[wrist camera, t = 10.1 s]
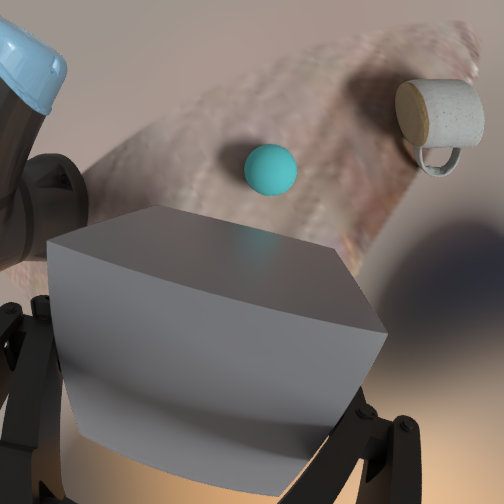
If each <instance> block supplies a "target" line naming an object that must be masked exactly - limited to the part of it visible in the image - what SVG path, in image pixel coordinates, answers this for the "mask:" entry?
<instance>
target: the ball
mask: <svg viewBox="0 0 504 504" xmlns="http://www.w3.org/2000/svg"><path fill="white" fill-rule="evenodd" d="M244 173H245V178H246V180H247V182H248V184H249V185H250V187H251V188H252V189H253V190H255V191H256V192H258V193H260V194H262V195H266V196H276V195H280V194H282V193H284V192H286V191H287V190H288V189H289V188H290V187H291V186H292V185H293V183H294V181H295V179H296V175H297V166H296V162H295V160H294V158H293V156H292V155H291V153H290V152H289V151H287V150H286V149H285V148H283V147H281V146H278V145H273V144H267V145H262V146H260V147H258V148H256V149H255V150H253V151H252V152H251V153H250V155H249V156H248V158H247V160H246V162H245V167H244Z"/></svg>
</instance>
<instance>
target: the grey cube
mask: <svg viewBox="0 0 504 504" xmlns="http://www.w3.org/2000/svg"><path fill="white" fill-rule="evenodd" d="M47 271H48V286H49V298H50V307H51V316H52V323H53V330H54V336H55V342H56V347H57V352H58V357H59V362H60V367H61V371H62V375H63V379H64V383H65V387H66V391H67V394H68V398H69V401H70V405H71V408H72V411H73V414H74V417H75V421H76V423H77V426H78V429H79V432H80V434H81V435H82V436H84V437H86V438H88V439H90V440H92V441H94V442H96V443H98V444H100V445H101V446H103V447H106V448H108V449H110V450H112V451H114V452H116V453H118V454H120V455H123V456H125V457H127V458H130V459H132V460H134V461H137V462H139V463H142V464H144V465H147V466H150V467H153V468H155V469H158V470H161V471H164V472H167V473H169V474H173V475H176V476H179V477H182V478H186V479H189V480H192V481H196V482H200V483H204V484H208V485H212V486H216V487H220V488H225V489H230V490H236V491H240V492H246V493H252V494H259V495H267V496H275V497H279V496H280V495H281V494H282V493H283V491H284V490H285V489H286V488H287V487H288V486H289V485H290V484H291V482H292V481H293V480H294V479H295V478H296V477H297V475H298V474H299V473H300V471H302V469H303V468H304V467H305V466H306V464H307V463H308V462H309V461H310V459H311V458H312V457H313V455H314V454H315V453H316V451H317V450H318V449H319V448H320V446H321V445H322V443H323V442H324V440H325V439H326V438H327V437H328V435H329V434H330V432H331V431H332V429H333V428H334V427H335V425H336V424H337V422H338V421H339V419H340V418H341V416H342V415H343V413H344V412H345V410H346V408H347V407H348V405H349V404H350V402H351V401H352V399H353V397H354V396H355V394H356V392H357V391H358V389H359V387H360V386H361V384H362V382H363V380H364V378H365V377H366V375H367V373H368V372H369V370H370V368H371V366H372V364H373V362H374V361H375V359H376V357H377V355H378V353H379V351H380V349H381V347H382V345H383V343H384V341H385V339H386V337H387V335H388V333H387V331H386V330H385V328H384V326H383V325H382V323H381V321H380V320H379V318H378V316H377V315H376V313H375V311H374V310H373V308H372V306H371V305H370V303H369V302H368V300H367V298H366V297H365V295H364V294H363V292H362V291H361V289H360V287H359V286H358V284H357V283H356V281H355V280H354V278H353V276H352V275H351V273H350V272H349V270H348V269H347V267H346V266H345V264H344V263H343V261H342V260H341V258H340V257H339V255H338V254H337V252H336V251H335V249H333V248H329V247H325V246H321V245H318V244H314V243H310V242H306V241H302V240H299V239H295V238H291V237H287V236H283V235H279V234H275V233H271V232H268V231H264V230H260V229H256V228H252V227H248V226H244V225H240V224H235V223H231V222H227V221H223V220H219V219H215V218H211V217H207V216H202V215H198V214H194V213H190V212H185V211H181V210H177V209H173V208H168V207H164V206H159V205H155V206H151V207H148V208H144V209H141V210H137V211H134V212H131V213H127V214H124V215H121V216H117V217H114V218H111V219H108V220H105V221H102V222H98V223H95V224H92V225H89V226H86V227H83V228H80V229H77V230H75V231H72V232H69V233H66V234H63V235H60V236H58V237H55V238H52V239H49V240H47Z"/></svg>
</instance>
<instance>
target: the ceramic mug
mask: <svg viewBox="0 0 504 504" xmlns="http://www.w3.org/2000/svg"><path fill="white" fill-rule="evenodd" d="M395 109H396V115H397V119H398V123H399V126H400V128H401V131H402V133H403V135H404V136H405V137H406V139H407V140H408V141H409V142H410V143H411V144H413V145H414V154H415V159H416V161H417V164H418V165H419V167H420V168H421V169H422V170H423V171H425V172H426V173H427V174H429V175H431V176H434V177H442V176H446V175H448V174H449V173H451V172H452V171H453V170H454V168H455V167H456V165H457V163H458V161H459V159H460V156H461V151H462V148H470V147H474V146H476V145H477V143H478V142H479V141H480V139H481V138H482V135H483V131H484V113H483V108H482V104H481V101H480V99H479V97H478V95H477V93H476V91H475V90H474V89H473V88H472V87H471V86H470V85H469V84H468V83H466V82H465V81H462V80H457V79H456V80H452V79H415V80H410V81H406V82H403V83H402V84H401V85H400V86H399V87H398V89H397V92H396V96H395ZM423 147H424V148H438V147H452V148H453V151H452V155H451V157H450V159H449V161H448V162H447V163H446V165H444V166H442V167H430V166H425V165H424V163H423V160H422V148H423Z"/></svg>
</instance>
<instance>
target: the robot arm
mask: <svg viewBox="0 0 504 504" xmlns="http://www.w3.org/2000/svg"><path fill="white" fill-rule="evenodd" d="M66 74H67V64H66V61H65V59H64V58H63V56H62V55H60V54H59V53H58V52H57V51H56V50H54V49H53V48H52V47H50V46H49V45H47V44H46V43H44V42H43V41H42V40H40V39H39V38H37V37H36V36H34V35H33V34H31V33H29V32H28V31H26V30H25V29H23V28H21V27H20V26H18V25H16V24H14V23H12V22H10V21H9V20H6V19H5V18H3V17H2V16H0V271H3V270H5V269H7V268H9V267H11V266H13V265H15V264H18V263H20V262H22V261H47V240H49V239H52V238H55V237H58V236H60V235H63V234H66V233H69V232H72V231H75V230H77V229H80V228H83V227H86V226H87V220H88V197H87V191H86V187H85V183H84V180H83V178H82V176H81V173H80V171H79V170H78V168H77V167H76V165H75V164H74V163H73V162H72V161H71V160H70V159H69V158H67V157H66V156H64V155H61V154H41V155H37V156H35V157H33V158H31V159H29V160H27V159H28V156H29V153H30V151H31V148H32V146H33V143H34V141H35V139H36V136H37V134H38V132H39V130H40V127H41V125H42V123H43V121H44V119H45V117H46V116H47V115H49V114H50V112H51V110H52V108H51V106H52V104H53V101H54V99H55V98H56V96H57V94H58V92H59V90H60V87H61V86H62V84H63V82H64V80H65V78H66ZM30 302H31V309H32V315H33V316H29V315H25V314H23V312H22V307H21V306H20V305H19V304H18V303H14V302H9V303H6V304H4V305H2V306H1V307H0V409H1V407H2V405H3V403H4V401H5V400H6V398H7V396H8V394H9V396H8V401H7V406H6V410H5V417H4V422H3V428H2V435H1V440H0V504H77V503H75V502H74V501H72V500H70V499H69V498H67V497H66V495H65V491H64V489H63V485H62V480H61V465H60V411H61V396H62V383H63V375H62V371H61V367H60V362H59V357H58V352H57V347H56V342H55V336H54V330H53V323H52V316H51V307H50V298H49V296H48V295H39V296H36V297H34V298H32V300H31V301H30ZM6 342H7V346H6V347H5V348H4V346H5V343H6ZM359 458H361V459H364V464H363V470H362V475H361V481H360V486H359V492H358V496H357V501H356V504H421V498H422V497H421V496H422V466H421V465H422V464H421V444H420V430H419V426H418V424H417V422H416V421H415V420H413V419H412V418H411V417H409V416H405V415H401V416H397V418H395V420H394V421H393V422H392V421H389V420H386V419H382V418H380V417H378V414H377V412H376V410H375V409H374V408H373V407H372V406H370V405H369V404H366V400H365V397H364V394H363V390H362V387H361V386H360V387H359V389H358V391H357V392H356V394H355V396H354V397H353V399H352V401H351V402H350V404H349V405H348V407H347V408H346V410H345V412H344V413H343V415H342V416H341V418H340V419H339V421H338V422H337V424H336V425H335V427H334V428H333V429H332V431H331V432H330V434H329V438H328V440H327V441H326V443H325V444H324V445H323V447H322V448H321V449H320V450H319V453H318V454H317V455H316V457H315V458H314V459H313V461H312V462H311V463H310V465H309V466H308V467H307V469H306V470H305V471H304V472H303V474H302V475H301V476H300V478H299V479H298V480H297V481H296V482H295V484H294V485H293V486H292V487H291V488H290V490H289V491H288V492H287V493H286V494H285V495H284V496H283V498H282V499H281V500H280V501H279V502H278V503H277V504H333V503H334V501H335V500H336V498H337V496H338V495H339V493H340V492H341V490H342V488H343V487H344V485H345V483H346V481H347V480H348V478H349V476H350V474H351V472H352V471H353V469H354V467H355V465H356V463H357V461H358V459H359Z"/></svg>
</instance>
